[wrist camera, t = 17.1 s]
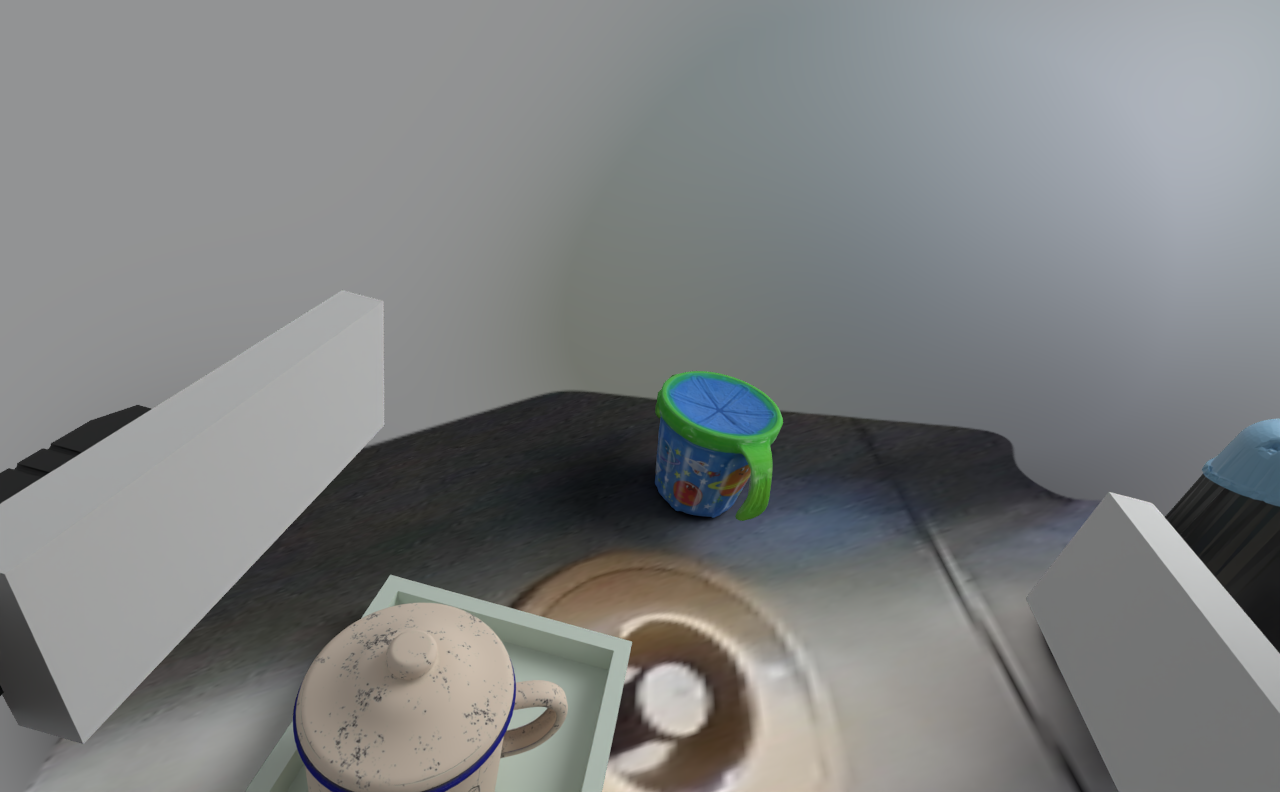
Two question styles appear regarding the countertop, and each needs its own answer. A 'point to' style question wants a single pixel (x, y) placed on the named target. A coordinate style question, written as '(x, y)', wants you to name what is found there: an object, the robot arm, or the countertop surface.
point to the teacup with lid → (416, 705)
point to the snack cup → (714, 444)
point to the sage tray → (539, 650)
